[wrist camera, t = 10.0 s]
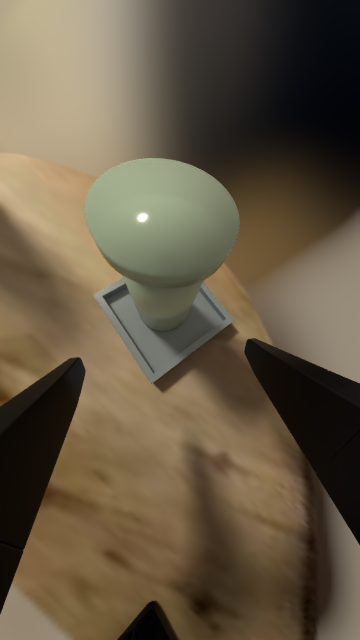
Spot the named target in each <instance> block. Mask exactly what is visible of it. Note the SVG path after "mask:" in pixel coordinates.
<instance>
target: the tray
mask: <svg viewBox="0 0 360 640" xmlns="http://www.w3.org/2000/svg"><path fill="white" fill-rule="evenodd" d="M93 295H94V297H95V298H96V300H97V301H98V303H99V304H100V306H101V307H102V309H103V311H104V312H105V314H106V315H107V317H108V318H109V320H110V321H111V323H112V324H113V326H114V327H115V329H116V331H117V332H118V334H119V335H120V337H121V338H122V340H123V341H124V343H125V344H126V346H127V347H128V349H129V351H130V352H131V354H132V355H133V357H134V358H135V360H136V361H137V363H138V364H139V366H140V367H141V369H142V370H143V372H144V374H145V375H146V377H147V378H148V380H149V381H150V383H151V384H152V383H153V382H155V381H156V380H157V379H159V378H160V377H161V376H162V375H164V374H165V373H166V372H168V371H169V370H170V369H172V368H173V367H174V366H176V365H177V364H178V363H179V362H181V361H182V360H183V359H185V358H186V357H187V356H189V355H190V354H191V353H192V352H194V351H195V350H196V349H198V348H199V347H200V346H202V345H203V344H204V343H206V342H207V341H208V340H209V339H211V338H212V337H213V336H215V335H216V334H217V333H219V332H220V331H221V330H223V329H224V328H225V327H226V326H228V325H229V324H230V323H232V322H233V321H234V319H233V318H232V317H231V315H230V314H229V313H228V312H227V310H226V309H225V308H224V307H223V306H222V304H221V303H220V302H219V301H218V299H217V298H216V297H215V296H214V295H213V293H212V292H211V291H210V290H209V288H208V287H207V286H206V285H205V283H204V282H203V284H202V286H201V288H200V290H199V292H198V294H197V296H196V298H195V300H194V302H193V304H192V306H191V308H190V310H189V312H188V314H187V316H186V318H185V320H184V322H183V323H182V324H181V325H180V326H179V327H178V328H176V329H174V330H171V331H167V332H159V331H155V330H152V329H150V328H149V327H147V326H146V325H145V324H144V323H143V321H142V320H141V318H140V316H139V314H138V311H137V309H136V307H135V304H134V302H133V299H132V297H131V295H130V292H129V290H128V288H127V285H126V283H125V281H124V278H123V279H121V280H119V281H117V282H115V283H113V284H111V285H110V286H108V287H106V288H104V289H102V290H100V291H98V292H96V293H94V294H93Z"/></svg>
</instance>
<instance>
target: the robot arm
mask: <svg viewBox="0 0 360 640" xmlns="http://www.w3.org/2000/svg"><path fill="white" fill-rule="evenodd" d="M244 352H245V355H246V357H247V359H248V361H249V363H250V365H251V367H252V370H253V372H254V374H255V376H256V377H257V379H258V381H259V382H260V384H261V386H262V387H263V389H264V391H265V392H266V394H267V395H268V397H269V399H270V400H271V402H272V403H273V405H274V407H275V408H276V410H277V412H278V413H279V415H280V416H281V418H282V420H283V421H284V423H285V425H286V426H287V428H288V429H289V431H290V433H291V434H292V436H293V437H294V439H295V441H296V442H297V444H298V446H299V447H300V449H301V450H302V452H303V454H304V455H305V457H306V458H307V460H308V462H309V463H310V465H311V467H312V468H313V470H314V471H315V472H316V475H317V476H318V478H319V480H320V481H321V483H322V485H323V486H324V488H325V489H326V491H327V493H328V494H329V496H330V498H331V499H332V501H333V502H334V504H335V505H336V507H337V509H338V510H339V512H340V514H341V515H342V517H343V519H344V520H345V522H346V523H347V525H348V527H349V528H350V530H351V531H352V533H353V535H354V536H355V538H356V540H357V541H358V543H359V544H360V383H357V382H355V381H352V380H350V379H348V378H345V377H343V376H340V375H338V374H336V373H334V372H331V371H328V370H327V369H324V368H322V367H320V366H317V365H315V364H313V363H310V362H308V361H306V360H304V359H301V358H299V357H297V356H294V355H292V354H290V353H287V352H285V351H283V350H280V349H278V348H276V347H274V346H271V345H269V344H267V343H264V342H262V341H260V340H258V339H255V338H253V339H248V340H247V342H246V346H245V350H244ZM84 377H85V367H84V365H83V362H82V360H81V358H79V357H76V358H70V359H68V360H67V361H65V362H64V363H63V364H61V365H60V366H58V367H57V368H55V369H54V370H52V371H51V372H50V373H48V374H47V375H45V376H44V377H42V378H41V379H39V380H38V381H37V382H35V383H34V384H32V385H31V386H29V387H28V388H26V389H25V390H24V391H22V392H21V393H19V394H18V395H16V396H15V397H13V398H12V399H11V400H9V401H8V402H6V403H5V404H3V405H2V406H0V614H1V611H2V608H3V605H4V602H5V600H6V597H7V594H8V592H9V589H10V586H11V584H12V581H13V578H14V576H15V573H16V570H17V568H18V565H19V562H20V559H21V557H22V554H23V549H24V548H25V545H26V543H27V540H28V537H29V535H30V532H31V529H32V526H33V524H34V521H35V518H36V516H37V513H38V510H39V507H40V505H41V502H42V499H43V497H44V494H45V491H46V489H47V486H48V483H49V480H50V478H51V475H52V472H53V470H54V467H55V464H56V461H57V459H58V456H59V453H60V451H61V448H62V445H63V443H64V440H65V437H66V434H67V432H68V429H69V426H70V424H71V421H72V418H73V415H74V413H75V410H76V407H77V404H78V401H79V397H80V393H81V389H82V385H83V381H84ZM150 614H151V615H152V616H149V615H150ZM118 640H175V639H174V637H173V636H172V634H171V632H170V630H169V628H168V626H167V624H166V622H165V620H164V618H163V616H162V614H161V612H160V610H159V609H158V607H157V605H156V604H155V602H150V603H148V604H147V605H146V607H145V608H144V609H143V610H142V611H141V612H140V614H139V615H138V616H137V617H136V618H135V620H134V621H133V622H132V623H131V624H130V625H129V627H128V628H127V629H126V630H125V631H124V633H123V634H122V635H121V636H120V637H119V639H118Z"/></svg>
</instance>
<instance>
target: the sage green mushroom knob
mask: <svg viewBox="0 0 360 640" xmlns="http://www.w3.org/2000/svg"><path fill="white" fill-rule="evenodd" d="M84 215H85V220H86V224H87V227H88V229H89V232H90V234H91V236H92V237H93V239H94V241H95V243H96V245H97V247H98V249H99V251H100V252H101V254H102V256H103V257H104V258H105V260H106V261H107V262H108V263H109V264H110V265H111V266H112V267H113V268H114V269H115V270H116V271H117V272H119V273H120V274H122V276H123V278H124V281H125V283H126V285H127V288H128V290H129V292H130V295H131V297H132V299H133V302H134V304H135V307H136V309H137V311H138V314H139V316H140V318H141V320H142V321H143V323H144V324H145V325H146V326H147V327H149V328H150V329H152V330H155V331H159V332H167V331H171V330H174V329H176V328H178V327H179V326H180V325H181V324H182V323H183V322H184V320H185V318H186V316H187V314H188V312H189V310H190V308H191V306H192V304H193V302H194V300H195V298H196V296H197V294H198V292H199V290H200V288H201V286H202V284H203V282H204V280H205V279H207V278H208V277H210V276H211V275H212V274H214V273H215V272H216V271H217V270H218V269H219V268H220V267H221V265H222V264H223V263H224V261H225V259H226V258H227V256H228V254H229V253H230V251H231V249H232V248H233V245H234V244H235V242H236V240H237V237H238V233H239V227H240V223H239V222H240V221H239V214H238V210H237V207H236V204H235V202H234V200H233V199H232V197H231V195H230V194H229V193H228V191H227V190H226V189H225V188H224V187H223V186H222V185H221V184H220V183H219V182H218V181H217V180H216V179H214V178H213V177H212V176H210V175H209V174H207V173H206V172H204V171H202V170H200V169H198V168H196V167H194V166H191V165H189V164H186V163H183V162H179V161H175V160H169V159H161V158H146V159H137V160H132V161H128V162H125V163H122V164H119V165H117V166H115V167H113V168H111V169H109V170H108V171H106V172H105V173H103V174H102V175H101V176H100V177H99V178H98V179H97V180H96V181H95V182H94V184H93V185H92V186H91V188H90V190H89V192H88V194H87V197H86V201H85V206H84Z"/></svg>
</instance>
